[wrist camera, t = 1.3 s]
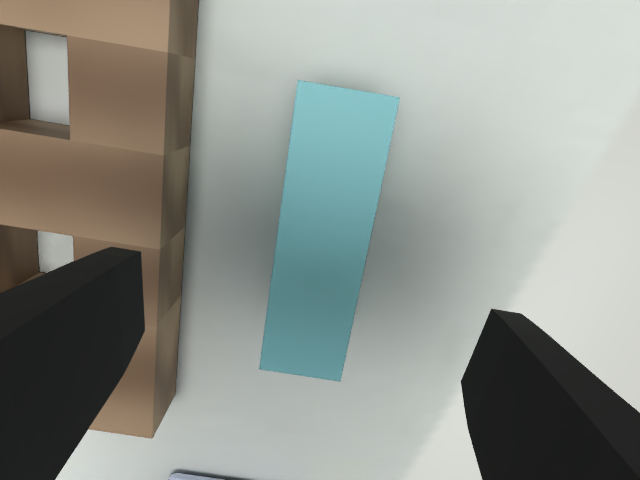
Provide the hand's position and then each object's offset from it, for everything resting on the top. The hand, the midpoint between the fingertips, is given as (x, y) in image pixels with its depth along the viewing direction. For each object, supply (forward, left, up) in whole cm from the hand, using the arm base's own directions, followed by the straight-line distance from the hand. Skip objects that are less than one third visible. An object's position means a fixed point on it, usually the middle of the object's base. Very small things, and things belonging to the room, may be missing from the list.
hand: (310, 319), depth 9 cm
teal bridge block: (0, 0, -10) cm, 10 cm away
